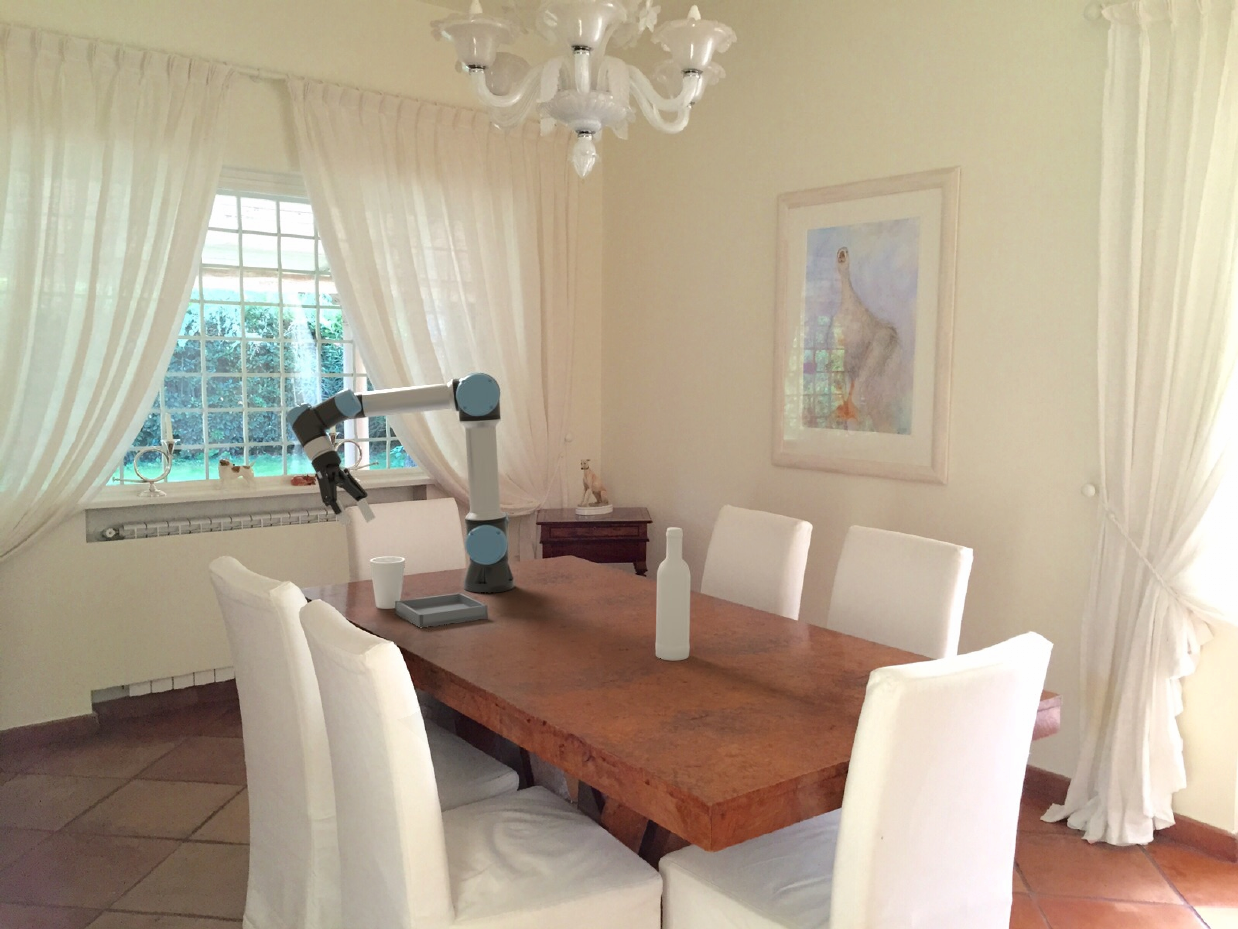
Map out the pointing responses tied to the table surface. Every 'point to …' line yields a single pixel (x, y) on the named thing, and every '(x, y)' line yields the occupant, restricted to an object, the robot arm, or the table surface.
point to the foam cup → (387, 580)
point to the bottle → (673, 601)
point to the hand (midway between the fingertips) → (359, 522)
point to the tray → (441, 610)
